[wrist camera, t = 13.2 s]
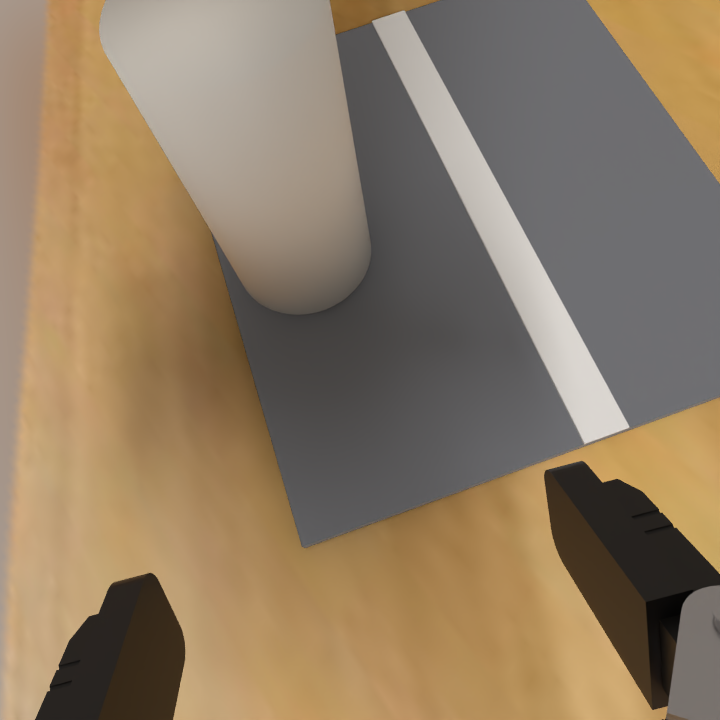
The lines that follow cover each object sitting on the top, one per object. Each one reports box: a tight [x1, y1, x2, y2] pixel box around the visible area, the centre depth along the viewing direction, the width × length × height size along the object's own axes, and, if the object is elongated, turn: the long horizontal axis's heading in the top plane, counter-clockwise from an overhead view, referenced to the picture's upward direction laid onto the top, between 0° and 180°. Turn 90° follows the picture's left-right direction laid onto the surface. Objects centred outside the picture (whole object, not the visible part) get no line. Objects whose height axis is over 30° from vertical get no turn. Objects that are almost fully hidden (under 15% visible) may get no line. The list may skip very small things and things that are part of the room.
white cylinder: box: [99, 0, 371, 315], centre depth 17 cm, size 5×5×10 cm
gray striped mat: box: [211, 0, 720, 548], centre depth 23 cm, size 18×20×1 cm
